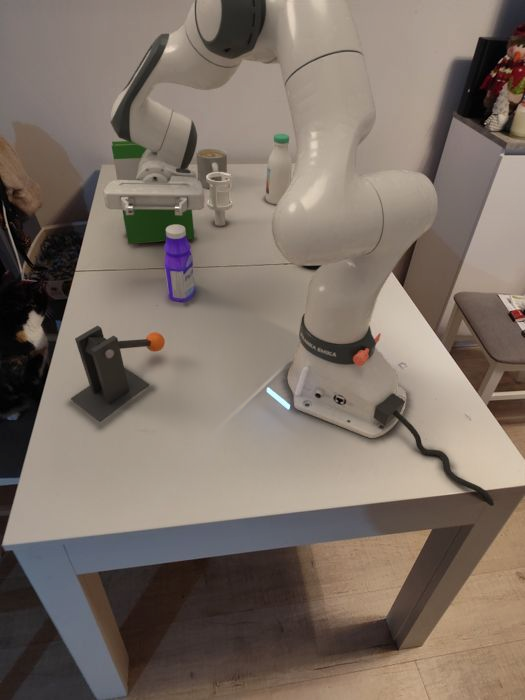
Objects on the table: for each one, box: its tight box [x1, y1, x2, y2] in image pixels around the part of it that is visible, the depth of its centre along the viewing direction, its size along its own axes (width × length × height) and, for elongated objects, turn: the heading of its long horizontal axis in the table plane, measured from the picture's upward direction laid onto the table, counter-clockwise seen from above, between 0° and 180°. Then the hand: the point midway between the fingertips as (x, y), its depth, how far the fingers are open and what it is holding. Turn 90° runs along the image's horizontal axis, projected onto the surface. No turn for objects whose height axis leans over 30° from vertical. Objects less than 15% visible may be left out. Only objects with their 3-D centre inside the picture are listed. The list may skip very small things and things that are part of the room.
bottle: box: [163, 224, 196, 303], centre depth 98 cm, size 7×6×17 cm
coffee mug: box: [196, 147, 228, 189], centre depth 150 cm, size 13×10×10 cm
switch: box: [86, 332, 166, 356], centre depth 78 cm, size 16×4×4 cm, turn 143°
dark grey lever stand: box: [70, 325, 150, 423], centre depth 76 cm, size 11×8×14 cm
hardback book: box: [111, 140, 195, 245], centre depth 117 cm, size 18×7×24 cm, turn 105°
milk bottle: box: [265, 133, 293, 205], centre depth 139 cm, size 8×8×20 cm
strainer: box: [206, 172, 233, 227], centre depth 127 cm, size 7×7×15 cm
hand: (154, 211), depth 87 cm, fingers open, 8 cm apart
